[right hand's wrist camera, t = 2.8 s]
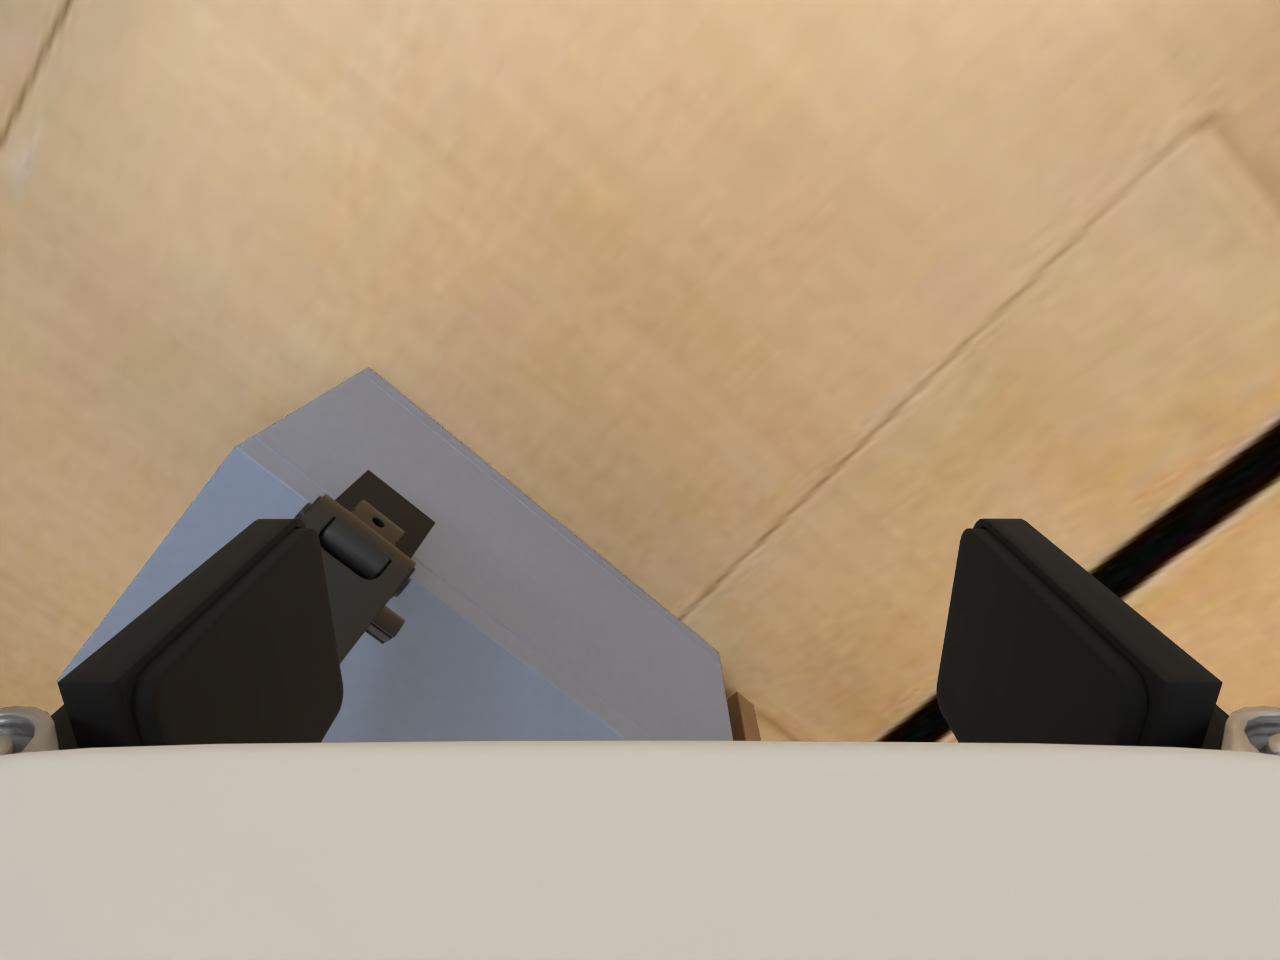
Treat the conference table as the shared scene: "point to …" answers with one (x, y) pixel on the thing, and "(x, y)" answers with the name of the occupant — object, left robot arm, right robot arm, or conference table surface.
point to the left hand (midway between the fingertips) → (280, 637)
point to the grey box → (457, 592)
